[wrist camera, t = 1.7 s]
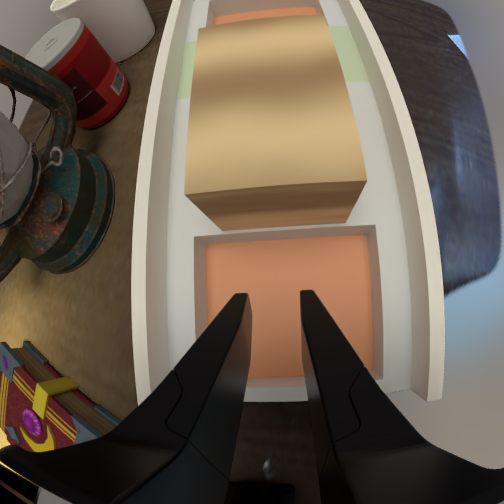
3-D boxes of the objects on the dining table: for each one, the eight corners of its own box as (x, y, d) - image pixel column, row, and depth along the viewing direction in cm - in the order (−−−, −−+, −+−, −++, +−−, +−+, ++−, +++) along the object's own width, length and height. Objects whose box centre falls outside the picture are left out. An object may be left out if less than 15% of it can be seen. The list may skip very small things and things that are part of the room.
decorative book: (108, 495, 21) (83, 515, 16) (12, 408, 24) (-16, 414, 19) (134, 425, 22) (103, 445, 17) (25, 334, 25) (-8, 334, 20)
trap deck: (409, 377, 19) (441, 398, 13) (175, 385, 22) (138, 407, 16) (337, 4, 26) (338, -33, 20) (192, 19, 29) (177, -15, 23)
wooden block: (345, 223, 19) (367, 180, 12) (222, 231, 20) (184, 194, 13) (321, 80, 21) (323, 14, 14) (223, 89, 22) (198, 28, 15)
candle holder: (90, 51, 31) (47, 0, 19) (147, 12, 31) (114, -45, 19) (105, 80, 29) (52, 19, 17) (173, 34, 29) (135, -37, 17)
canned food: (115, 68, 29) (70, 11, 18) (143, 93, 27) (91, 25, 17) (69, 111, 29) (15, 63, 18) (90, 143, 27) (23, 89, 17)
